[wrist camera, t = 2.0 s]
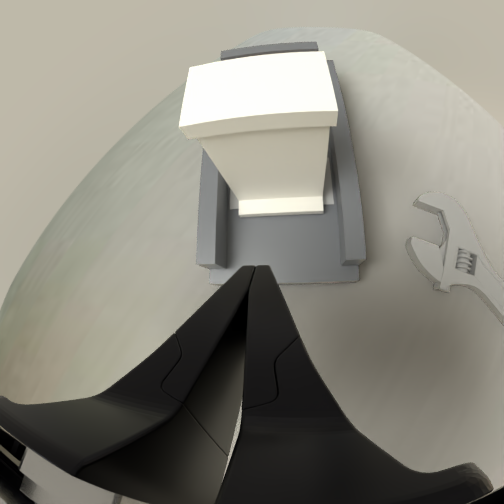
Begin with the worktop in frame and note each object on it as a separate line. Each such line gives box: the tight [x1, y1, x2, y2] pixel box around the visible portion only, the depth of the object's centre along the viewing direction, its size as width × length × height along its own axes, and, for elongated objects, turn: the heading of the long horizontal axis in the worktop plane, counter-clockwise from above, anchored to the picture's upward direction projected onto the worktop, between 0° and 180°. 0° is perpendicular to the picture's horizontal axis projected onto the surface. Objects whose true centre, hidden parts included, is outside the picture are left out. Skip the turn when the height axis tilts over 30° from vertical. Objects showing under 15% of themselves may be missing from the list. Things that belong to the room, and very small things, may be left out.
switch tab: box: [179, 51, 338, 217], centre depth 15 cm, size 5×6×10 cm
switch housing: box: [196, 42, 366, 285], centre depth 19 cm, size 18×10×6 cm, turn 0°
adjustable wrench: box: [405, 192, 504, 326], centre depth 15 cm, size 25×6×2 cm, turn 44°
